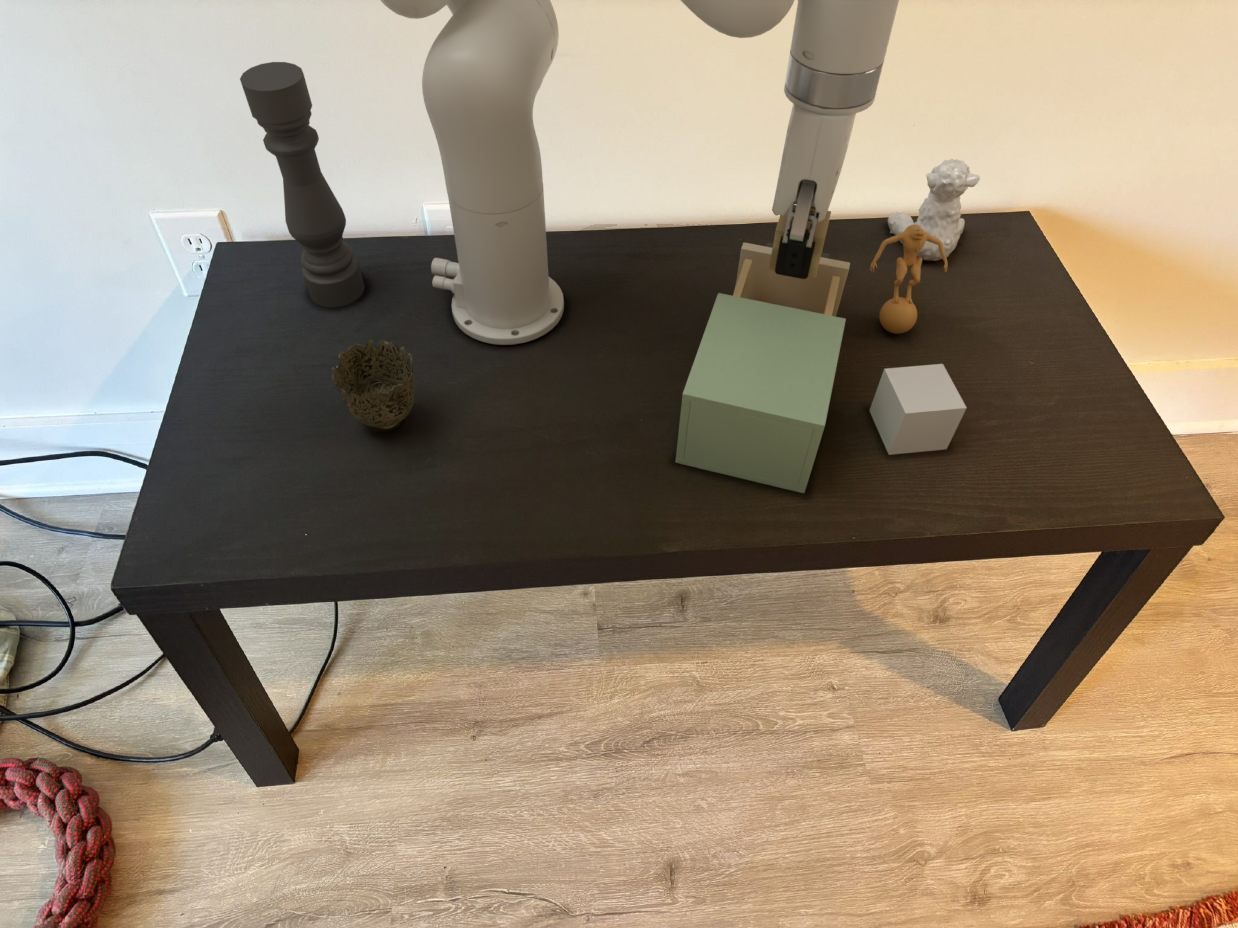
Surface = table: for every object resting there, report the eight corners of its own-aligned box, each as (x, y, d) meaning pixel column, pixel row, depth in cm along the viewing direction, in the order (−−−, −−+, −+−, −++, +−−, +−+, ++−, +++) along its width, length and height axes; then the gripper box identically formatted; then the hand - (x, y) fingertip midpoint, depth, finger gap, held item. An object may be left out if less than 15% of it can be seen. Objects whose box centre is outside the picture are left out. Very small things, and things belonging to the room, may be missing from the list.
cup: (410, 457, 82) (394, 400, 76) (338, 445, 83) (317, 387, 77) (436, 402, 86) (423, 344, 80) (368, 391, 87) (350, 333, 81)
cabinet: (708, 363, 91) (718, 292, 83) (825, 388, 89) (846, 318, 81) (675, 462, 82) (682, 393, 75) (804, 493, 80) (825, 425, 72)
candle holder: (375, 285, 98) (320, 72, 79) (337, 314, 95) (270, 99, 76) (336, 267, 100) (273, 54, 81) (298, 295, 97) (222, 80, 78)
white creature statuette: (960, 228, 107) (994, 140, 98) (972, 270, 102) (1009, 182, 93) (885, 223, 108) (912, 135, 98) (893, 265, 102) (922, 176, 93)
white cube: (924, 405, 87) (943, 363, 83) (946, 449, 84) (967, 407, 79) (868, 410, 87) (884, 368, 82) (888, 455, 83) (905, 413, 78)
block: (768, 269, 83) (775, 229, 79) (776, 242, 86) (783, 203, 82) (815, 278, 82) (824, 238, 78) (822, 250, 85) (831, 211, 81)
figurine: (860, 341, 94) (888, 251, 84) (850, 305, 97) (876, 215, 88) (934, 341, 94) (971, 251, 84) (921, 306, 98) (955, 216, 88)
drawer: (742, 276, 99) (751, 219, 93) (839, 295, 97) (855, 238, 91) (708, 379, 88) (715, 322, 82) (817, 403, 86) (833, 346, 80)
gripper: (803, 26, 75) (773, 205, 89) (769, 119, 65) (741, 304, 79) (888, 38, 74) (844, 217, 88) (867, 134, 64) (821, 320, 78)
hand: (795, 257), depth 83 cm, fingers closed on block, 4 cm apart
